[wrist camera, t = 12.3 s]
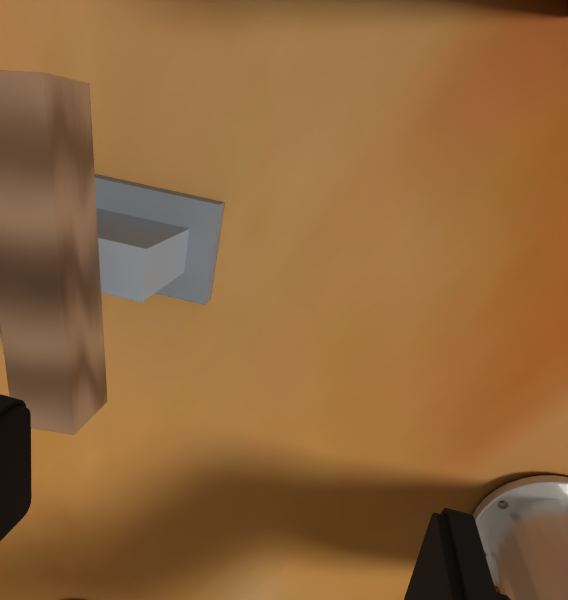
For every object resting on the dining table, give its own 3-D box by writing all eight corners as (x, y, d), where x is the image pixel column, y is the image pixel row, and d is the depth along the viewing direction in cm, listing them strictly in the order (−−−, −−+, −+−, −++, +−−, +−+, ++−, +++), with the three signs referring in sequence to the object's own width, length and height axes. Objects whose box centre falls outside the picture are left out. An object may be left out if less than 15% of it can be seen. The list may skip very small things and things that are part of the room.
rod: (107, 401, 32) (73, 435, 28) (53, 393, 33) (13, 425, 29) (89, 83, 26) (42, 72, 22) (22, 79, 26) (-34, 68, 23)
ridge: (210, 299, 39) (167, 342, 30) (52, 261, 40) (-32, 292, 31) (224, 202, 36) (182, 219, 27) (54, 165, 37) (-36, 170, 29)
